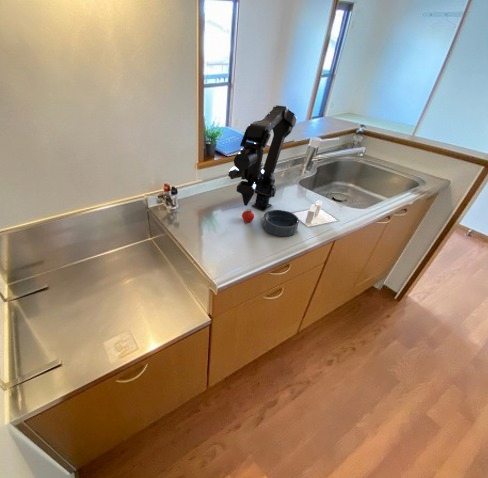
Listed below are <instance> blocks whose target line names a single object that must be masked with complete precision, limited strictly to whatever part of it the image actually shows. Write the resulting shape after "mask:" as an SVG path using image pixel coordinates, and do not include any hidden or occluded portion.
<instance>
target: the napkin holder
mask: <svg viewBox="0 0 488 478" xmlns="http://www.w3.org/2000/svg"><path fill="white" fill-rule="evenodd" d="M323 203H324V201H323V200H319V199H317V200H316V202H315V203H311V205H310V207H309V209H307V210H301V211H296V212H292V213H293V214H294V215H296V216H297V217H298V218H299V222H301V223H303V224H304V225H305V226H307V227H308V228H310V227H315V226H319V225H324V224H328V223H332V222H338V220H337V219H336V218H335V217H333V216H332V215H330V214H329V213H328V212H326V211H325V210H323V209H322V205H323Z"/></svg>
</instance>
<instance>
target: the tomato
mask: <svg viewBox="0 0 488 478" xmlns="http://www.w3.org/2000/svg"><path fill="white" fill-rule="evenodd" d="M241 218H242V220H243V223H248V224H249V223H251V222H252V221H253V220H254V219H255V213H254V211H253V210H252V209H250V208H246V209H245V210H244V211H242V214H241Z"/></svg>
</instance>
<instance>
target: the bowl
mask: <svg viewBox="0 0 488 478" xmlns="http://www.w3.org/2000/svg"><path fill="white" fill-rule="evenodd" d="M293 213H294V212H290V211H289V210H288V211H287V210H284V209H271V210H268V211H266V212H265V213H264V215H263V220H262V228H263V229H264V230H265V231H266V232H267V233H269V234H271V235H274V236H278V237H291V236H293V235H295V234H296V233H297V231H298V228H299V225H300V220H299V218H298V217H297V216H296V215H294V214H293Z"/></svg>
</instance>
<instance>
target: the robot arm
mask: <svg viewBox="0 0 488 478" xmlns="http://www.w3.org/2000/svg"><path fill="white" fill-rule="evenodd" d="M296 123H297V116H296V114H295V113H294V112H293V111H291V110H290V109H289V107H288V106H285V105H278V104H277V105H273V107H272V109H271V110H270V111H268V113H267V114H266V115H265V116H264V117H263V118H262V119H260V120H256V121H253V122H251V123H249V124H248V126H246V128H245V131H244V133H243V136H242V139H241V141H240V144H239V146H240V147H243V148H241V149H240V151H239V153H237V154H236V155H235V156H234V158H233V165H234V166H233V167H230V169H229V170H228V177H229V178H230V180H234V179H239V178H240V182H238V184H237V186H236V190H235V192H237V193H239V194H241V197H242V201H243V206H245V207H247V206H248V205H249V204H250V202H251V200H252V198H253V196H254V195H256V197H255V202H254V203H252V204H251V206H252V207H254V208H256V209H257V210H261V211H264V212H265V211H266V210H267V209H269V208H271V207H272V204H271V203H270V199H272V198H275V195H276V191H277V188H276V185H275V183H276V182H275V181H276V178H275V176H274V174H275V170H276V167H277V164H278V161H279V157H280V154H281V151H282V148H283V145H284V143H285V139H286V138H287V137H288V136H289V135H290V134H291V133H292V132H293V129H294V127H296V126H295V125H296ZM271 132H272V133H273V136H272V138H271ZM270 138H271V143H270V146H269V149H268V152H267V156H266V158H265V162H264V163H263V158H264V153H265V152H264V151H265V148H266V146H267V144H268V143H269V140H270ZM263 164H264V165H263ZM262 167H263V168H262Z"/></svg>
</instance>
